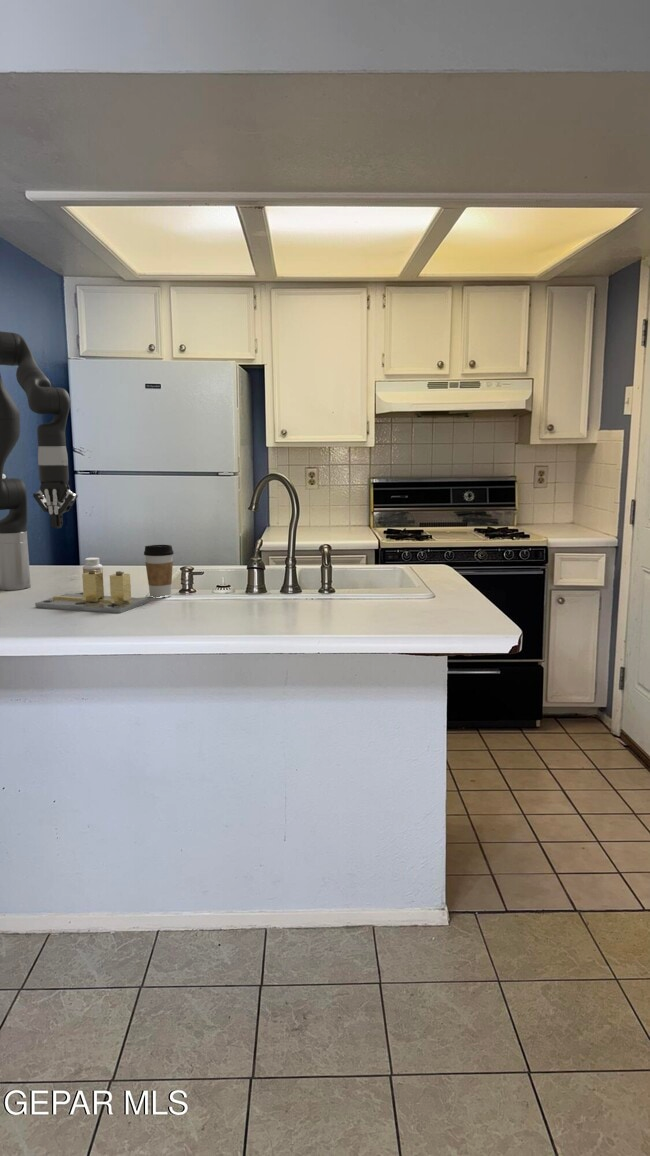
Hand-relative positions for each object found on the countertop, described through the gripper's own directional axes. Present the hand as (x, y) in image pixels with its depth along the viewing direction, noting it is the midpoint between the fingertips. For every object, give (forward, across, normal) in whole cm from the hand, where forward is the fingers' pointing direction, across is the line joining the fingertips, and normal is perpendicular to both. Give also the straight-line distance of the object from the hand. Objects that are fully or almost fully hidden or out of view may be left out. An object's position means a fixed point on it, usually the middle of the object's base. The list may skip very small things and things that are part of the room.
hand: (57, 527), depth 209 cm
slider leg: (+19, +10, -1) cm, 22 cm away
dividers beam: (+20, +9, -1) cm, 22 cm away
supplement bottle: (+21, -1, +16) cm, 27 cm away
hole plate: (+21, +9, 0) cm, 23 cm away
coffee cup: (+21, +21, +16) cm, 34 cm away
